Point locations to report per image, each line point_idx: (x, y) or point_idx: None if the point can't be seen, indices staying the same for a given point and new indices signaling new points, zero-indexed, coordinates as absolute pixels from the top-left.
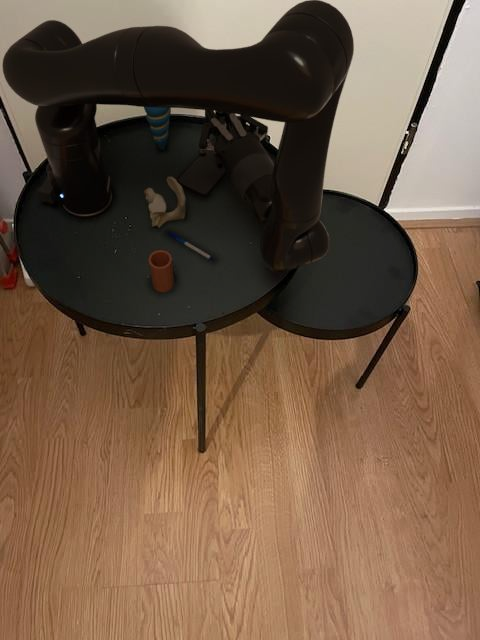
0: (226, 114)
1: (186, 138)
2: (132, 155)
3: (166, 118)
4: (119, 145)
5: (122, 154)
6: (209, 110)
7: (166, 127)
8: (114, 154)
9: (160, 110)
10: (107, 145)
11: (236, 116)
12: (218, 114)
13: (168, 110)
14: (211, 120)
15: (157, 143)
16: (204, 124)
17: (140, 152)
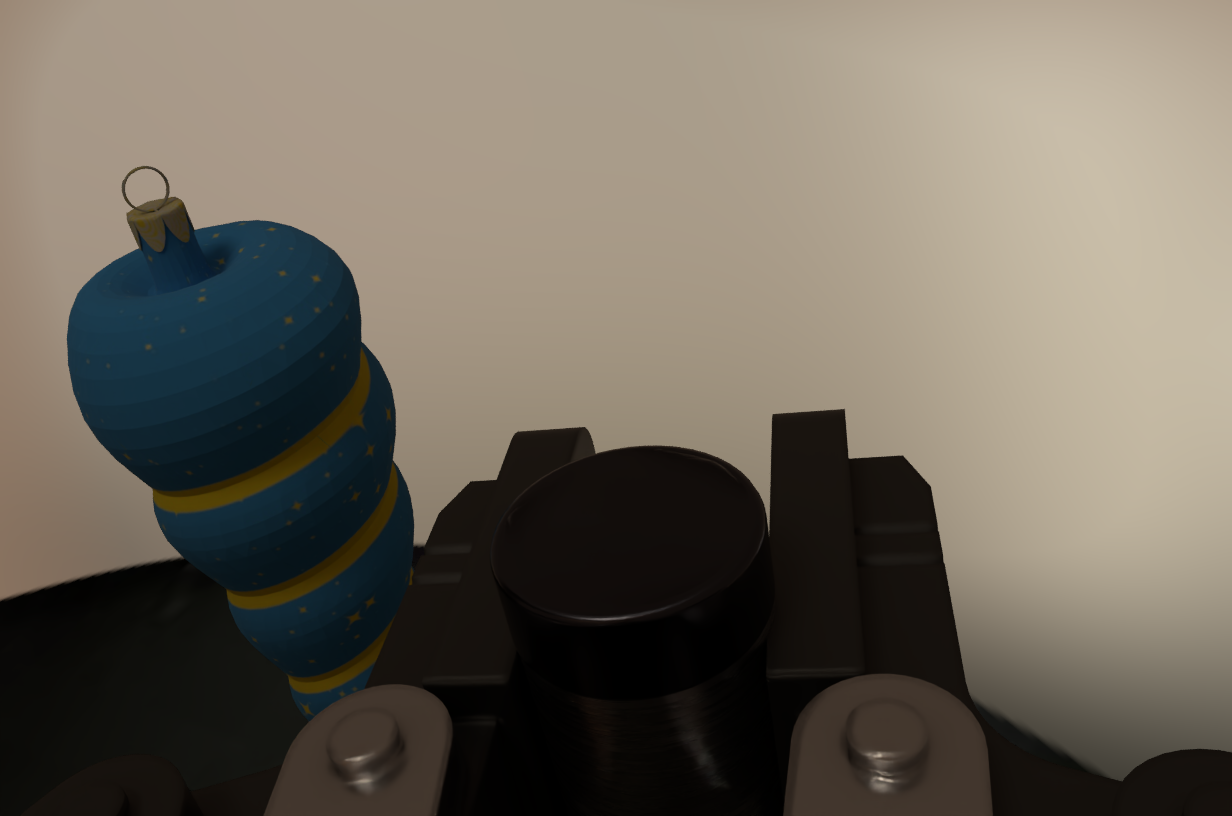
0: (772, 661)
1: None
2: (184, 758)
3: (269, 522)
4: (192, 652)
5: (139, 728)
6: (487, 507)
7: (325, 610)
8: (99, 712)
9: (144, 422)
10: (134, 633)
11: (986, 801)
12: (521, 630)
13: (305, 443)
14: (304, 736)
15: None
16: (74, 801)
17: (253, 749)
